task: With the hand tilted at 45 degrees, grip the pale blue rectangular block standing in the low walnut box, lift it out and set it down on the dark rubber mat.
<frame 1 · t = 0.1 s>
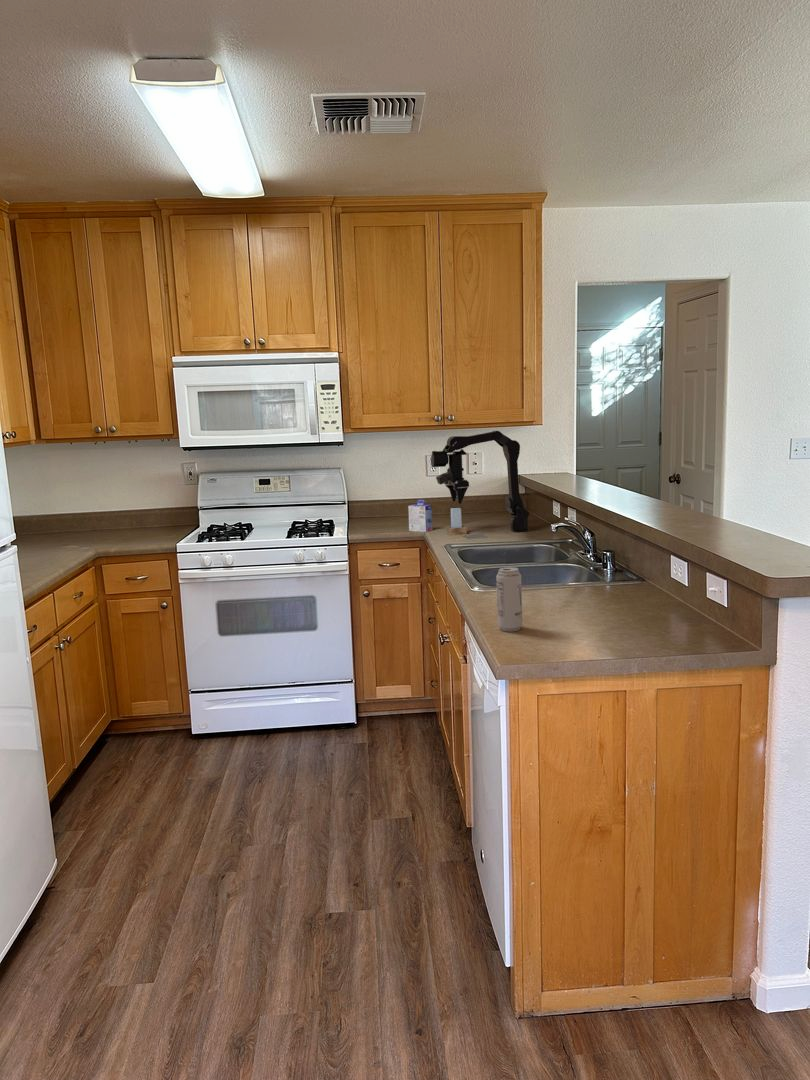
hand: (456, 502, 322), 15 cm above the worktop, tool pointing down, fingers open, 9 cm apart
energy drink can: (510, 629, 185), on the worktop
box: (456, 534, 328), on the worktop
pale blue rectangular block: (456, 533, 328), point 1 cm above the worktop, touching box
mat: (475, 537, 318), on the worktop
ink cartridge box: (421, 532, 342), on the worktop
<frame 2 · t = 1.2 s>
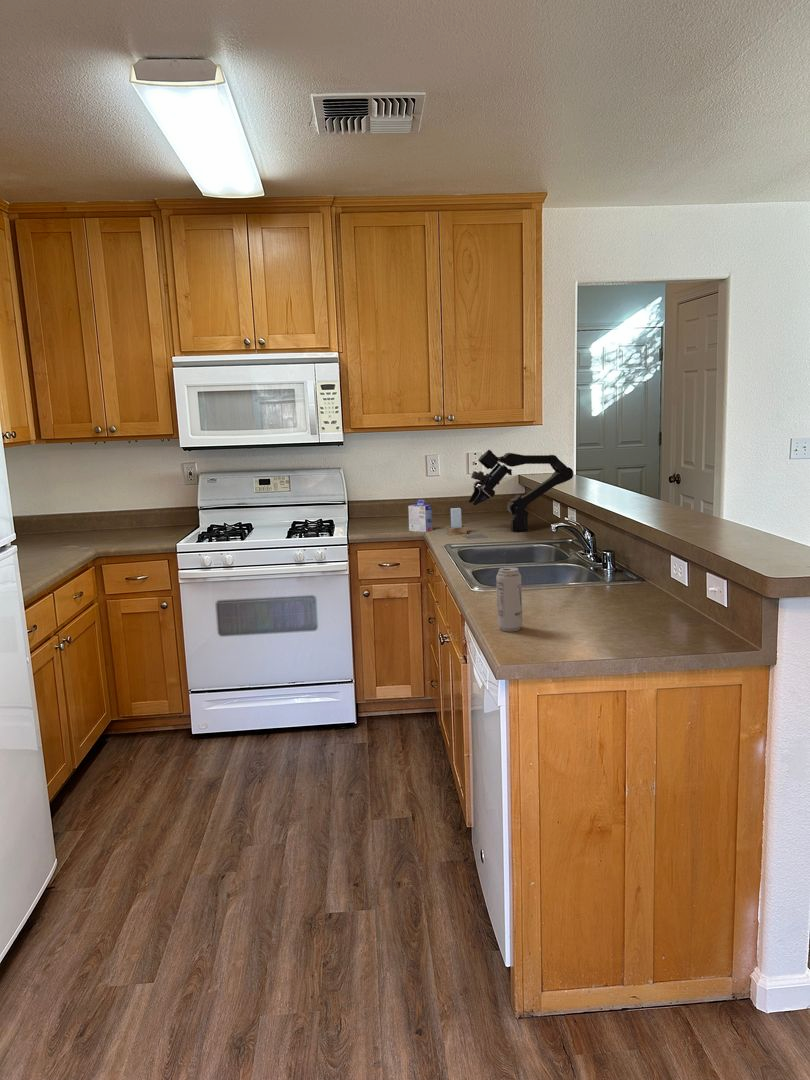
hand: (471, 503, 326), 13 cm above the worktop, tool tilted 45°, fingers open, 9 cm apart
nothing on the worktop moved.
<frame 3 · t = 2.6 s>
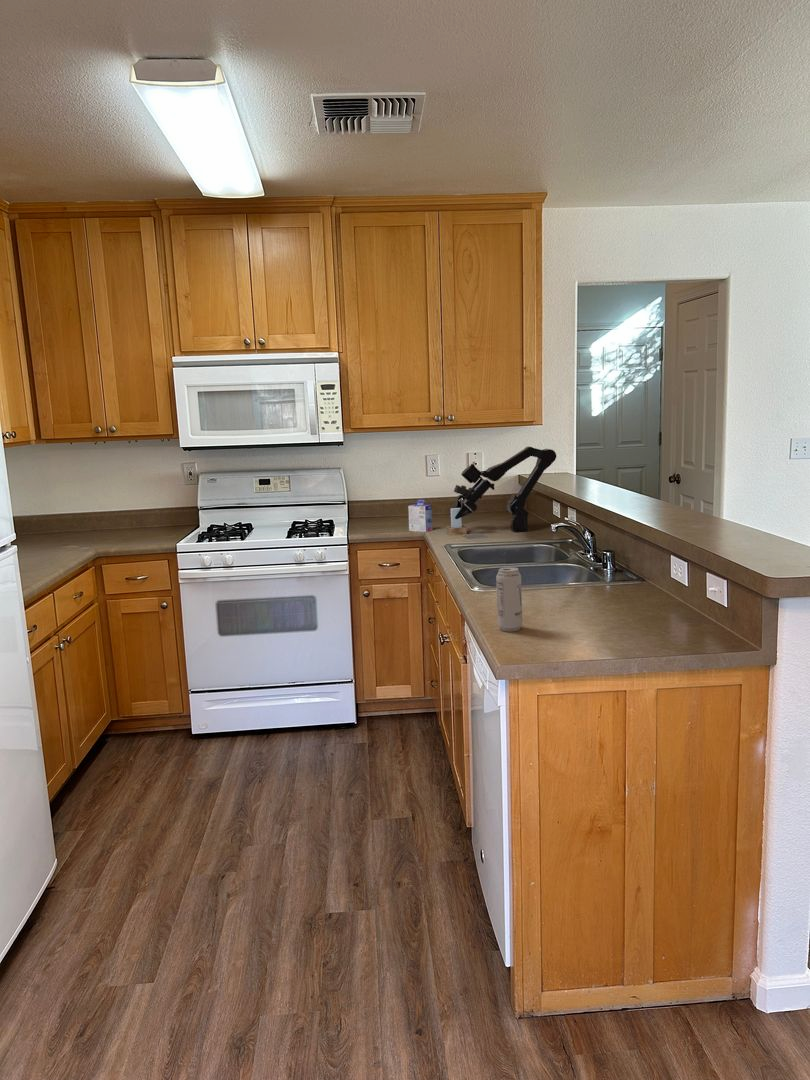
hand: (453, 517, 326), 8 cm above the worktop, tool tilted 45°, fingers open, 9 cm apart
nothing on the worktop moved.
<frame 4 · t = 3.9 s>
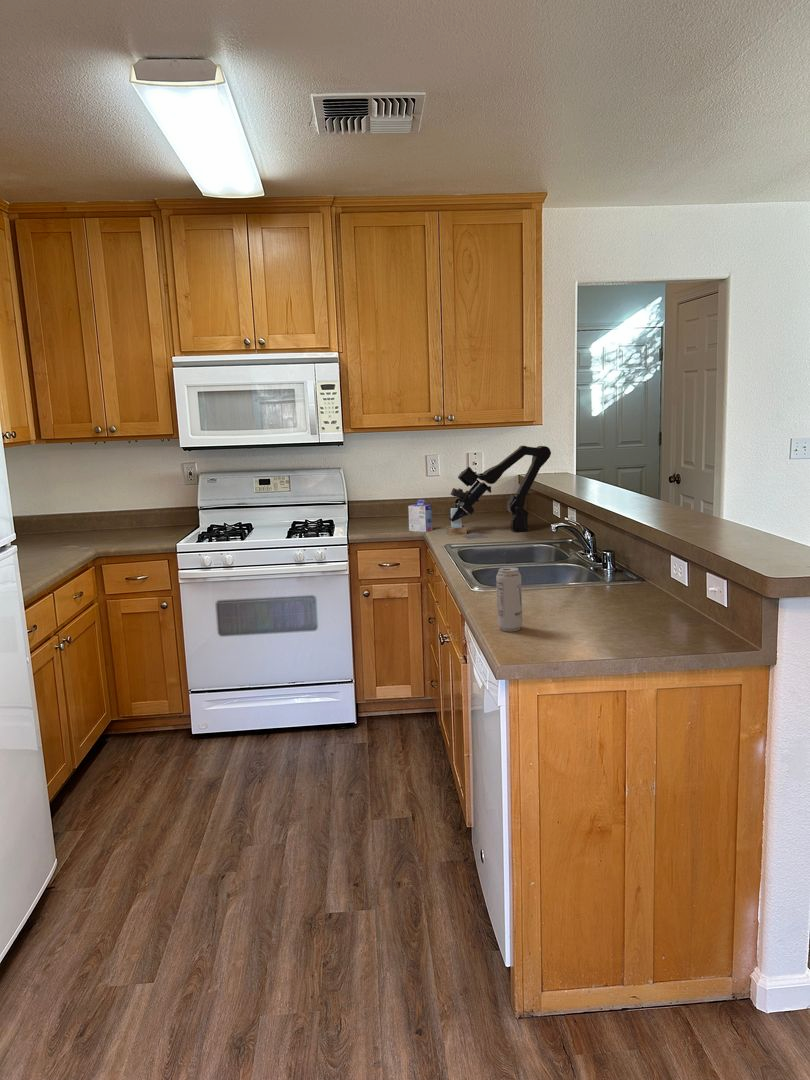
hand: (450, 520, 326), 7 cm above the worktop, tool tilted 45°, fingers closed on pale blue rectangular block, 3 cm apart
pale blue rectangular block: (456, 533, 328), point 1 cm above the worktop, touching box, gripper
everything else where it was.
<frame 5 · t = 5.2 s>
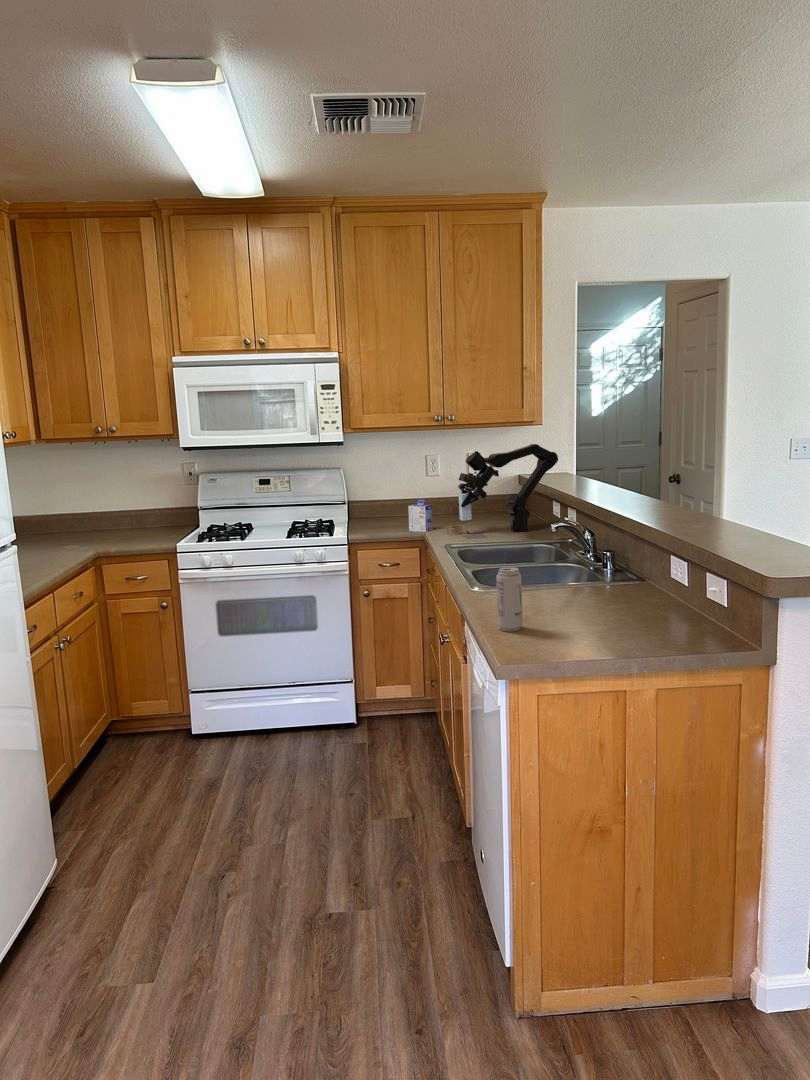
hand: (459, 506, 320), 13 cm above the worktop, tool tilted 45°, fingers closed on pale blue rectangular block, 3 cm apart
pale blue rectangular block: (465, 519, 321), point 7 cm above the worktop, touching gripper
everything else where it was.
when the fingers open (7 cm above the worktop, at t = 6.9 s): pale blue rectangular block stays where it is, resting on mat.
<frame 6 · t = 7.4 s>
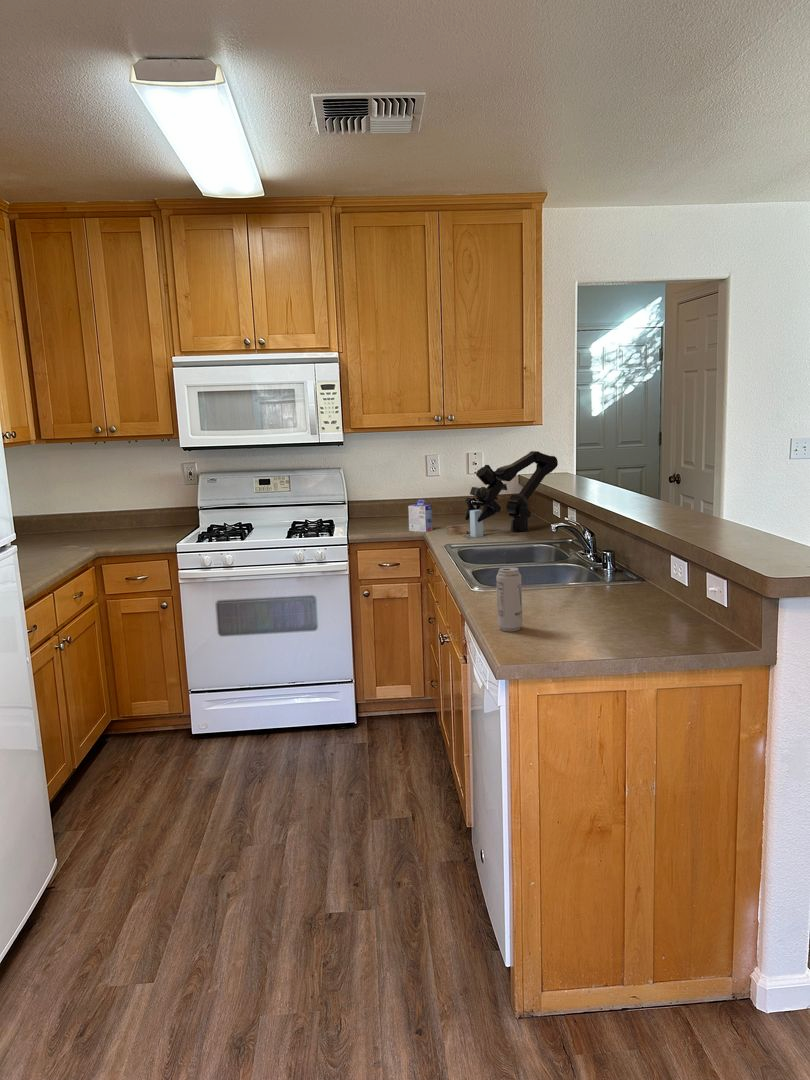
hand: (471, 520, 316), 8 cm above the worktop, tool tilted 45°, fingers open, 8 cm apart
pale blue rectangular block: (476, 536, 318), point 1 cm above the worktop, touching mat
everything else where it was.
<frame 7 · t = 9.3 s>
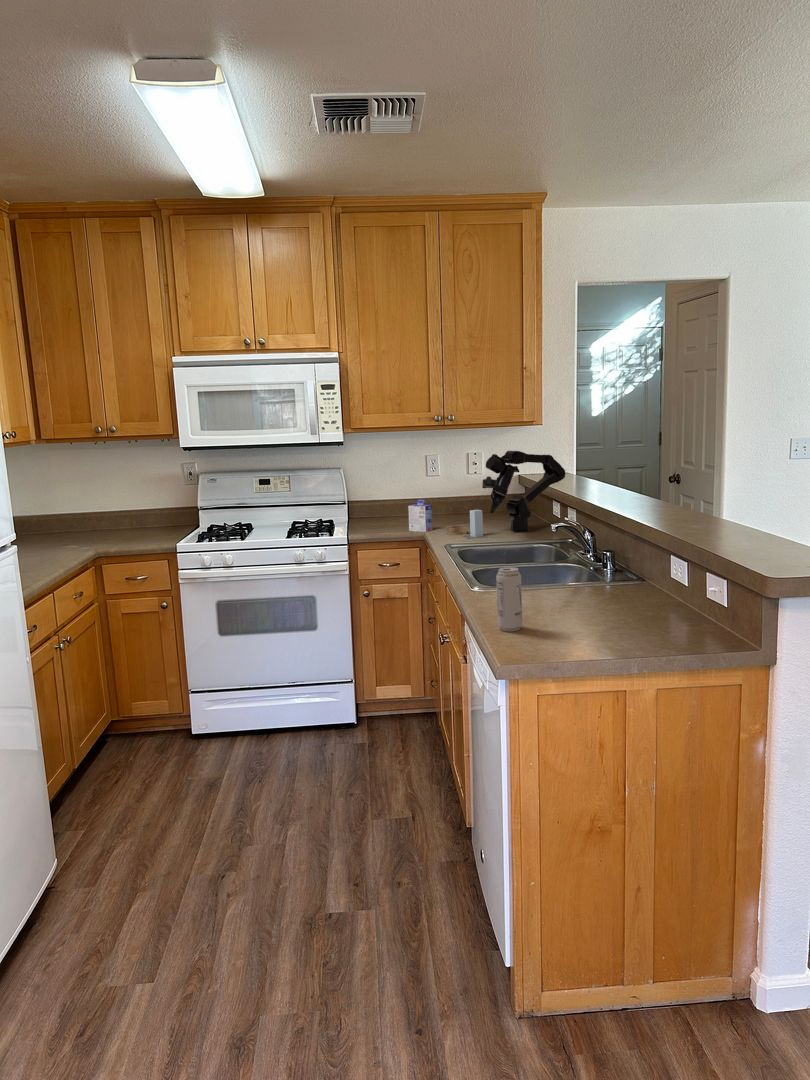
hand: (491, 511, 322), 10 cm above the worktop, tool tilted 30°, fingers open, 9 cm apart
nothing on the worktop moved.
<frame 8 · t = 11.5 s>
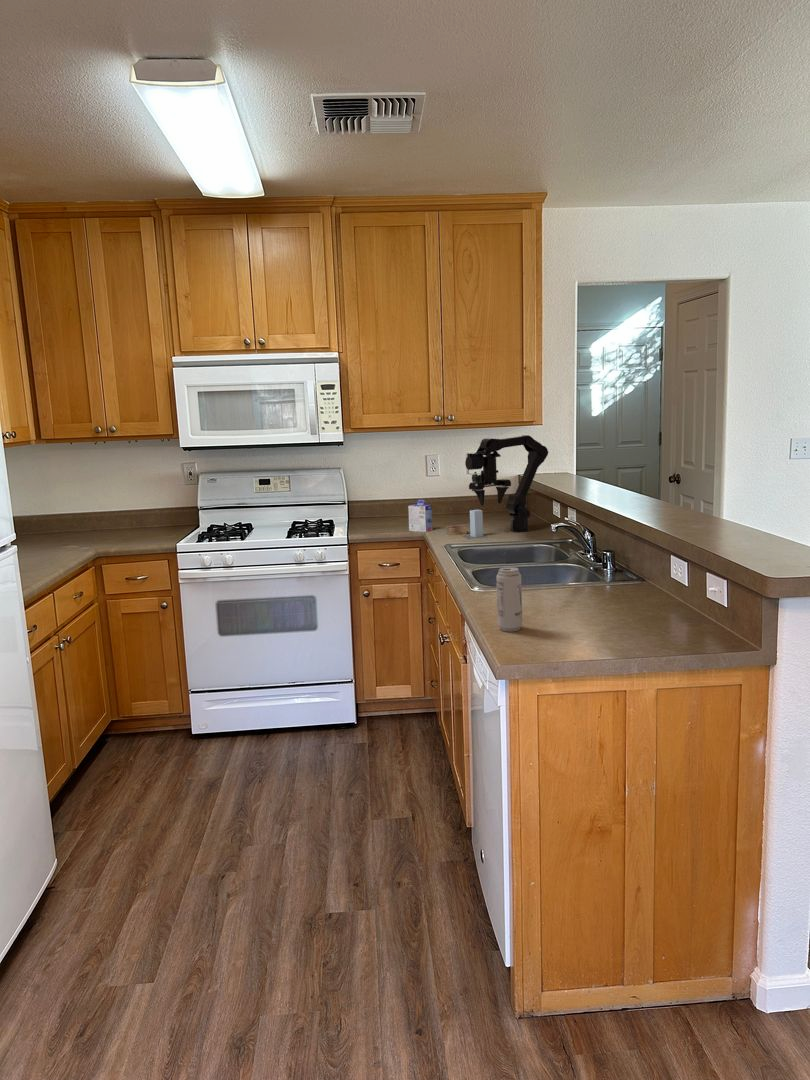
hand: (490, 504, 322), 13 cm above the worktop, tool pointing down, fingers open, 9 cm apart
nothing on the worktop moved.
at the end: pale blue rectangular block inside the target area on the mat (0.9 cm from its centre), point 0.6 cm above the mat's base; pale blue rectangular block touching mat; the gripper is holding nothing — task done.
